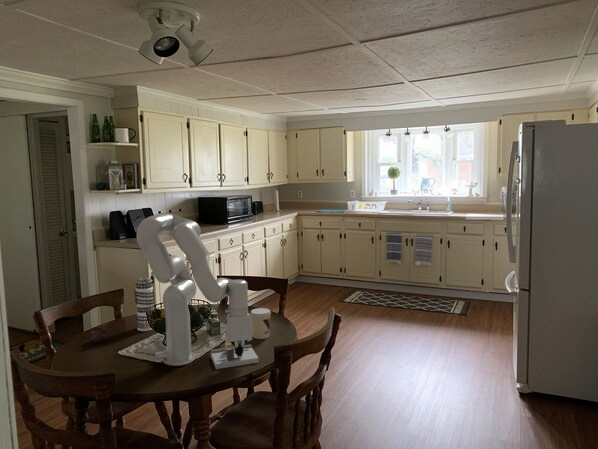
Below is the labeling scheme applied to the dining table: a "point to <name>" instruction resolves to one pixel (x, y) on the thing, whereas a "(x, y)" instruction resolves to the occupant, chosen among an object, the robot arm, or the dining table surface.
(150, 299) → the decorative candle
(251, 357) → the console
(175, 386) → the dining table surface
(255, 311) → the coffee cup
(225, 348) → the fader orange
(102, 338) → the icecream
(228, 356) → the fader black
